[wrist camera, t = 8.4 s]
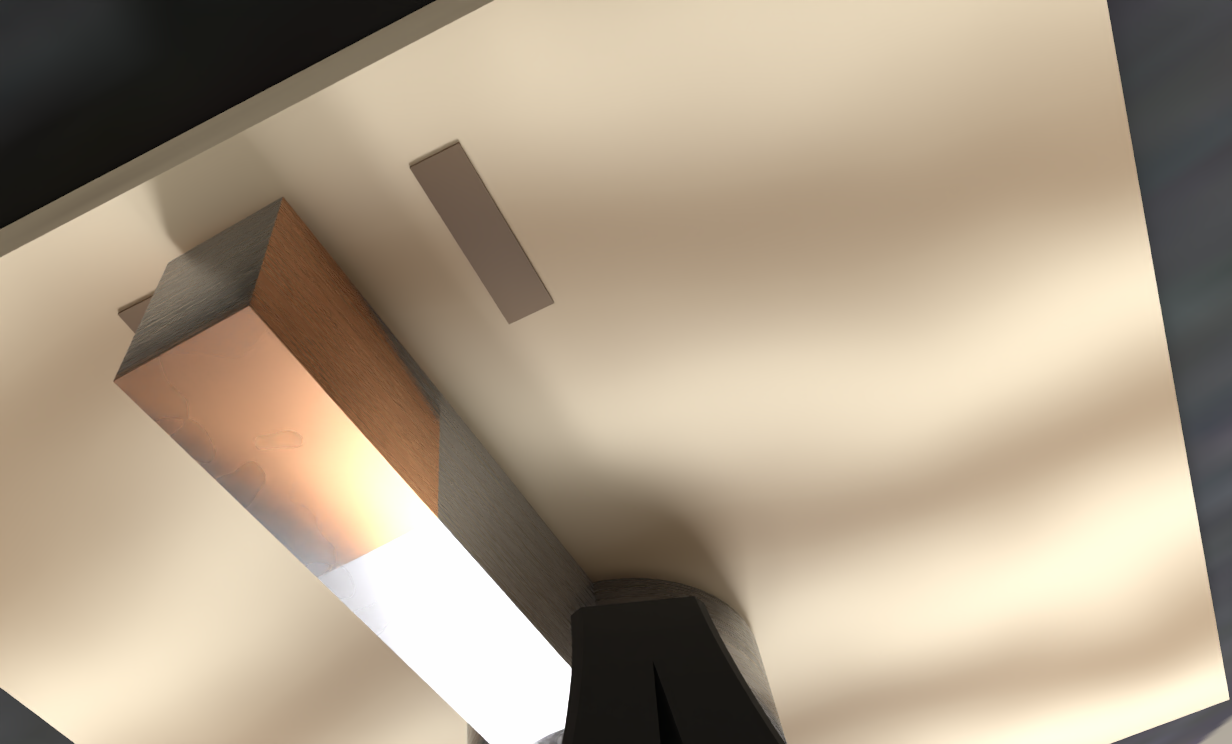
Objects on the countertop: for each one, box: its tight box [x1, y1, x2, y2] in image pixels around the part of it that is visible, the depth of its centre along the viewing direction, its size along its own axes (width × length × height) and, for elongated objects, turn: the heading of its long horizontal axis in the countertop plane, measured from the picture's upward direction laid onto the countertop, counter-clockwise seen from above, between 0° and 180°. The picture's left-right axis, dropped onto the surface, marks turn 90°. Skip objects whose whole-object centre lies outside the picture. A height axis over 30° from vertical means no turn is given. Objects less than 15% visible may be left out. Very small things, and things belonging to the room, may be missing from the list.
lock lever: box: [113, 197, 787, 744], centre depth 18 cm, size 15×6×3 cm, turn 27°
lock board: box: [0, 0, 1229, 744], centre depth 21 cm, size 22×22×2 cm
